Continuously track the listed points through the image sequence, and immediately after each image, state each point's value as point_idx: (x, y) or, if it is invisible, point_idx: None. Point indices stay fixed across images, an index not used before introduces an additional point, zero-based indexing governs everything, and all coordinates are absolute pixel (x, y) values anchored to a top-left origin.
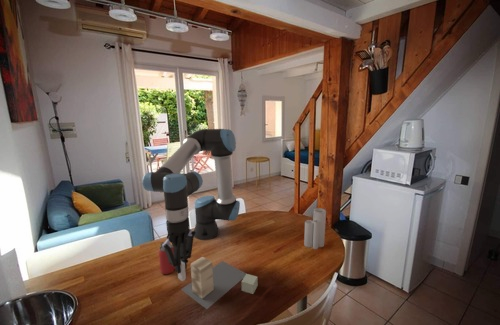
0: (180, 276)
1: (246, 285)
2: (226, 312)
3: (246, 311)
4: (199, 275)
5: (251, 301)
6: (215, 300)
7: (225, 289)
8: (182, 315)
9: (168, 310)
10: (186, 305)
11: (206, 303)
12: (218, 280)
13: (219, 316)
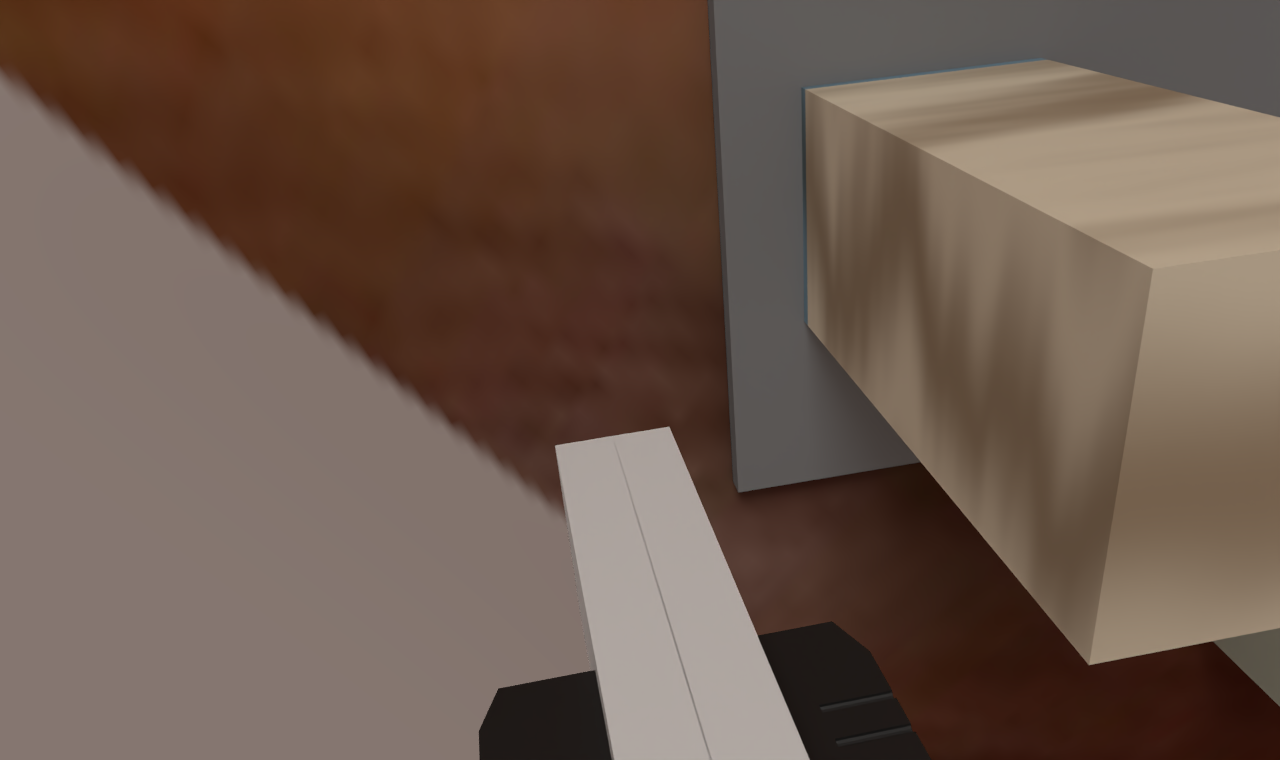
0: (584, 626)
1: (1270, 640)
2: (858, 624)
3: (986, 720)
4: (997, 511)
5: (1116, 666)
6: (899, 451)
7: None
8: (466, 344)
9: (338, 118)
10: (594, 229)
11: (794, 419)
12: None
13: (774, 620)
